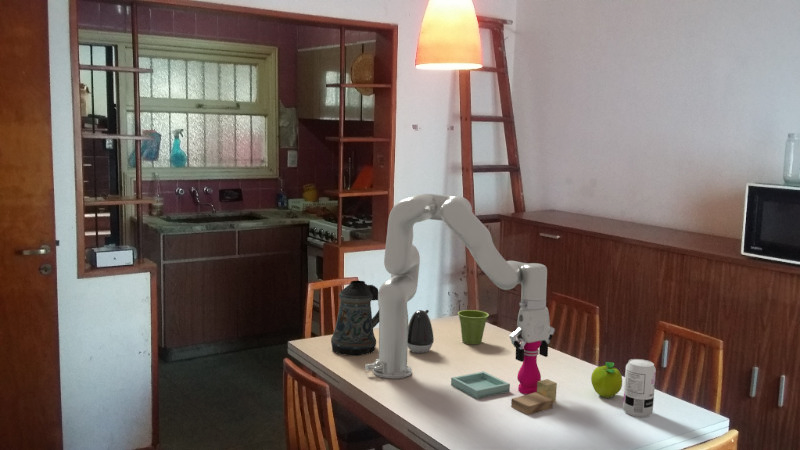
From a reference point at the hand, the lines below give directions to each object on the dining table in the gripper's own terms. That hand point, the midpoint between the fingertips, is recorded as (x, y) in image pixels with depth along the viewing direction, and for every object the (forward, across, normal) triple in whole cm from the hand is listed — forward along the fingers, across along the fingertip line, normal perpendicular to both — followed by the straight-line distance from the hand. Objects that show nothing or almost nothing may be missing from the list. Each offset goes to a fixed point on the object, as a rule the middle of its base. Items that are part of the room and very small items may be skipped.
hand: (531, 358), depth 222 cm
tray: (+10, -12, +10) cm, 19 cm away
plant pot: (+10, +16, +50) cm, 54 cm away
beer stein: (+10, -27, +64) cm, 70 cm away
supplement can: (+12, +16, -28) cm, 34 cm away
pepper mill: (+11, 0, 0) cm, 11 cm away
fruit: (+11, +18, -14) cm, 26 cm away
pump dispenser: (+10, -8, +50) cm, 52 cm away
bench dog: (+11, -2, -8) cm, 14 cm away
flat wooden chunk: (+11, -8, -10) cm, 17 cm away
